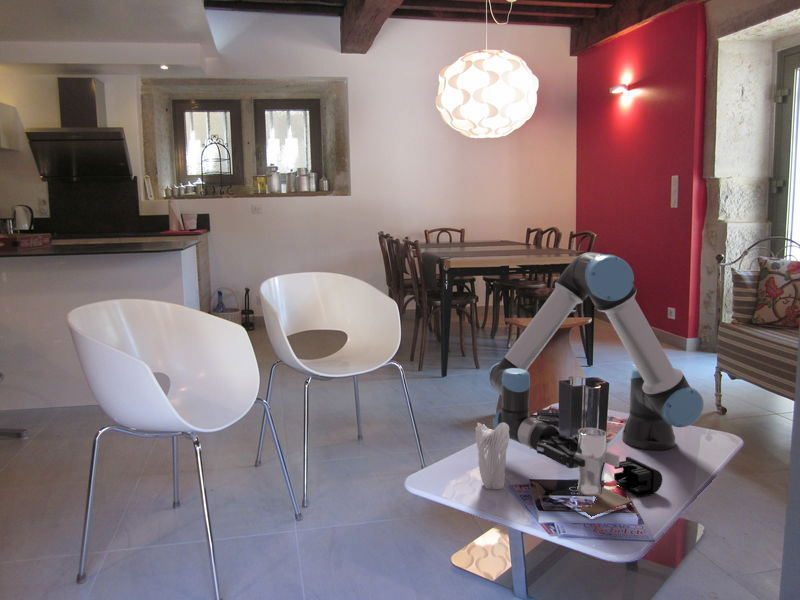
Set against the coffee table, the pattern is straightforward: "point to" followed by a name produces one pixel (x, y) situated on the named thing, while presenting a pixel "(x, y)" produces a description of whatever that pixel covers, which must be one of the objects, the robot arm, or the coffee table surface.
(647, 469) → the end cap
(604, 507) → the walnut board
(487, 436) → the white ridged vase
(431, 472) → the coffee table surface
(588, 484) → the beer glass
